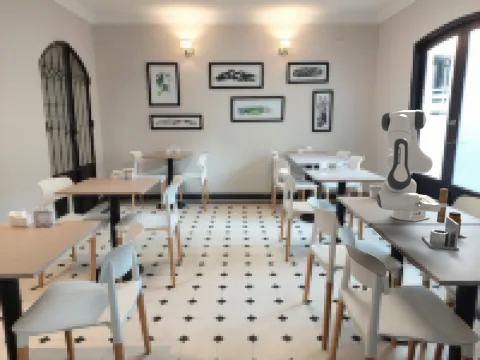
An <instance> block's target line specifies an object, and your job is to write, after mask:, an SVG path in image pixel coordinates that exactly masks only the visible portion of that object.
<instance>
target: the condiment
mask: <svg viewBox="0 0 480 360" xmlns="http://www.w3.org/2000/svg"><path fill="white" fill-rule="evenodd" d="M448 217H449V218H451V219H452V220H454V221H455V222H456V223H458V224H459V233H458V239H459V238H462V239H463V238H466V236H464V235H463V234H461V227H462V214H461V213H460V212H457V211H456V212H455V211H450V212H449V213H448Z"/></svg>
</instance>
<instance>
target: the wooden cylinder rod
mask: <svg viewBox="0 0 480 360" xmlns="http://www.w3.org/2000/svg"><path fill="white" fill-rule="evenodd" d="M448 194H449V189H448V188H440V189H439V198H438V201H439V203H446V204H447V205H448V203H447V202H448ZM446 211H447V207H441V208H440V212H437V215H436V216H437V217H436V222H437V223H439V224H446Z"/></svg>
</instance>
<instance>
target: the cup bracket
mask: <svg viewBox="0 0 480 360" xmlns="http://www.w3.org/2000/svg"><path fill="white" fill-rule="evenodd" d="M444 226H445V227H444V230H442V229H436V228H435V229H431V230H430V235H429V236H425V235H424V236H423V235H422V236H421V239H422V240H423V241H424V242H426V243H425V244H426V245H427V246H428V247H429V248H430V249H436V250H437V249H439V250H449V251H450V250H451V251H460V247H459V246H458V241H459V238H458V233H459V224H458V223H456V222H455V221H454V220H452V219H451V218H449V216H445V225H444Z"/></svg>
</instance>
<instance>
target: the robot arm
mask: <svg viewBox="0 0 480 360" xmlns="http://www.w3.org/2000/svg"><path fill="white" fill-rule="evenodd" d="M426 124H427V117H426V114H425V112H424V111H423V110H420V109H416V110H414V109H413V110H412V109H411V110H408V109H407V110H405V109H404V110H401V111H392V112H386V113H384V114H383V115H382V117H381V120H380V126H381V128H382V130H383V131H384V132H387V133H386V146H387V148H388V149H389V151H391V152H393V153H390V154H388V155H387V157H386V159H385V166H386V168H387V170H389V173H388V175H387V176H386V178H385V179H384V181H383V184H382V187H381V189H380V190H379V192H378V193H376V202H377V205H378V207H379V208H380V209H382V210H388V211H392V212H391V215H390V217H392V218H393V219H397V220H400V221H401V220H402V221H409V222H419V221H424V220H429V219H431V217H430V216H429V215H428V214H427V213H426V212H433V213H438V212H440V208H441V207H446V208H447V206H448V203H447V204H446V203H439V199H438V200H437V199H433V198H432V197H430V196H429V195H426V194H425V195H424V194H419V193H417V181H415V180H414V179H413V178H412V175H411V174H412V173H413V174H425V173H426V174H427V173H429V172H430V171H431V170H432V168H433V160H432V158H431V156H430V155H427V154H425V152H423V150H422V149H421V147H420V145H419V140H418V131H420V130H422V129H423V128H424V127H425V125H426Z"/></svg>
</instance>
